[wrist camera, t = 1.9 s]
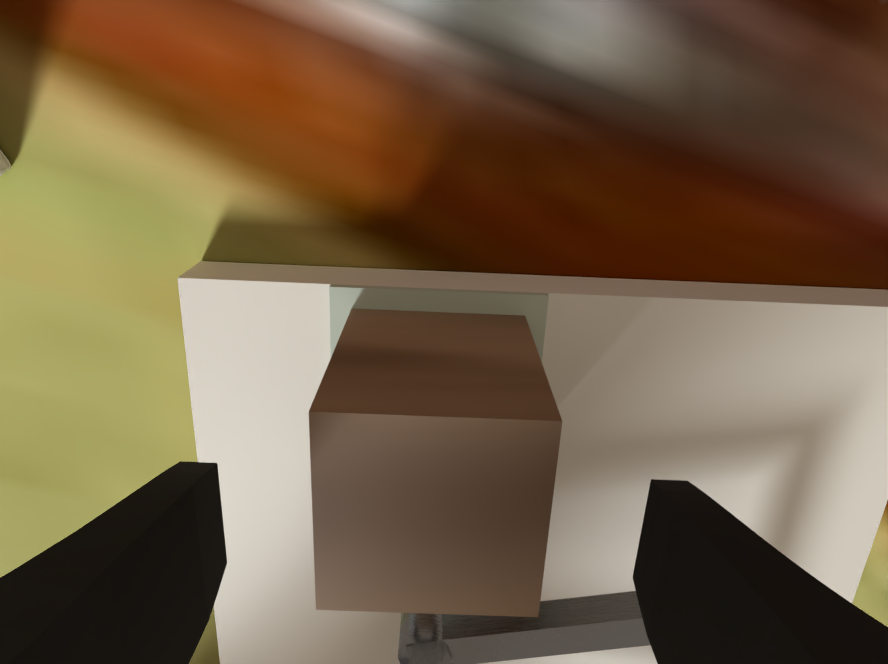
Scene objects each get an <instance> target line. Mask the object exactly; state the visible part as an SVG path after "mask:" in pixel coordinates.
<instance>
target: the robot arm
mask: <svg viewBox="0 0 888 664" xmlns="http://www.w3.org/2000/svg"><path fill="white" fill-rule="evenodd" d="M226 565H227V556H226V546H225V536H224V526H223V516H222V505H221V495H220V485H219V475H218V465H217V463H205V462H179V463H177V464H176V465H174V466H172V467H171V468H169V469H167V470H166V471H164V472H163V473H161V474H160V475H158V476H157V477H155V478H154V479H152V480H151V481H149V482H148V483H146V484H145V485H144V486H142V487H141V488H139V489H138V490H136V491H135V492H133V493H132V494H130V495H129V496H128V497H126V498H125V499H123V500H122V501H120V502H119V503H117V504H116V505H114V506H113V507H111V508H110V509H108V510H107V511H105V512H104V513H102V514H101V515H99V516H98V517H96V518H95V519H94V520H92V521H91V522H89V523H88V524H86V525H85V526H83V527H82V528H80V529H79V530H77V531H76V532H74V533H73V534H71V535H69V536H68V537H66V538H64V539H63V540H61V541H60V542H58V543H56V544H55V545H53V546H52V547H50V548H48V549H47V550H45V551H43V552H42V553H40V554H39V555H37V556H35V557H34V558H32V559H31V560H29V561H27V562H26V563H24V564H23V565H21V566H19V567H18V568H16V569H14V570H13V571H11V572H10V573H8V574H6V575H4V576H3V577H1V578H0V664H189V662H190V660H191V658H192V656H193V653H194V651H195V649H196V647H197V645H198V643H199V640H200V638H201V636H202V634H203V632H204V629H205V627H206V625H207V623H208V621H209V618H210V615H211V612H212V609H213V606H214V603H215V600H216V597H217V594H218V591H219V588H220V584H221V581H222V578H223V575H224V571H225V568H226ZM633 581H634V586H635V590H636V594H637V598H638V603H639V607H640V611H641V615H642V618H643V622H644V626H645V630H646V634H647V637H648V640H649V642H650V645H651V648H652V650H653V653H654V656H655V658H656V661H657V663H658V664H888V627H886V626H885V625H883V624H882V623H880V622H879V621H877V620H876V619H874V618H873V617H871V616H869V615H868V614H866V613H865V612H863V611H862V610H860V609H859V608H857V607H856V606H855V605H853V604H852V603H850V602H849V601H847V600H846V599H845V598H843V597H842V596H840V595H839V594H837V593H836V592H834V591H833V590H832V589H830V588H829V587H827V586H826V585H824V584H823V583H822V582H820V581H819V580H817V579H816V578H815V577H813V576H812V575H810V574H809V573H808V572H806V571H805V570H804V569H802V568H801V567H800V566H798V565H797V564H796V563H794V562H793V561H792V560H790V559H789V558H788V557H786V556H785V555H784V554H782V553H781V552H780V551H778V550H777V549H776V548H774V547H773V546H772V545H771V544H769V543H768V542H767V541H765V540H764V539H763V538H762V537H760V536H759V535H758V534H756V533H755V532H754V531H753V530H751V529H750V528H749V527H748V526H746V525H745V524H744V523H742V522H741V521H740V520H739V519H737V518H736V517H735V516H734V515H732V514H731V513H730V512H729V511H727V510H726V509H725V508H723V507H722V506H721V505H720V504H718V503H717V502H716V501H715V500H713V499H712V498H711V497H709V496H708V495H707V494H705V493H704V492H703V491H701V490H700V489H699V488H697V487H696V486H694V485H693V484H692V483H690V482H689V481H684V480H657V479H651V482H650V487H649V492H648V497H647V503H646V508H645V513H644V519H643V524H642V529H641V535H640V540H639V545H638V551H637V556H636V561H635V567H634V572H633Z"/></svg>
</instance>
